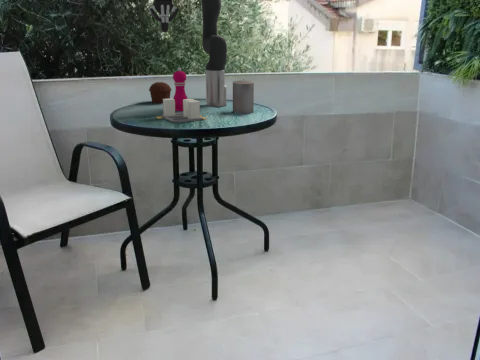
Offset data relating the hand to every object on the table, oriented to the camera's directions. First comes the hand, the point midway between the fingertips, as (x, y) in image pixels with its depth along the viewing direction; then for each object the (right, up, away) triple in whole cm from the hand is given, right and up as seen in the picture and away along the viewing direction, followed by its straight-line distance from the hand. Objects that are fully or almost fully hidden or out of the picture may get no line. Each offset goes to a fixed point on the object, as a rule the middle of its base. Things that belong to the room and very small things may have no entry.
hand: (164, 32), depth 192 cm
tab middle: (+10, -35, +2) cm, 37 cm away
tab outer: (+12, -37, -2) cm, 39 cm away
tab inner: (+2, -35, +3) cm, 35 cm away
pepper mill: (+4, -31, +19) cm, 36 cm away
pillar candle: (+33, -30, +21) cm, 49 cm away
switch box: (+7, -37, +1) cm, 38 cm away
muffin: (-9, -22, +45) cm, 50 cm away
